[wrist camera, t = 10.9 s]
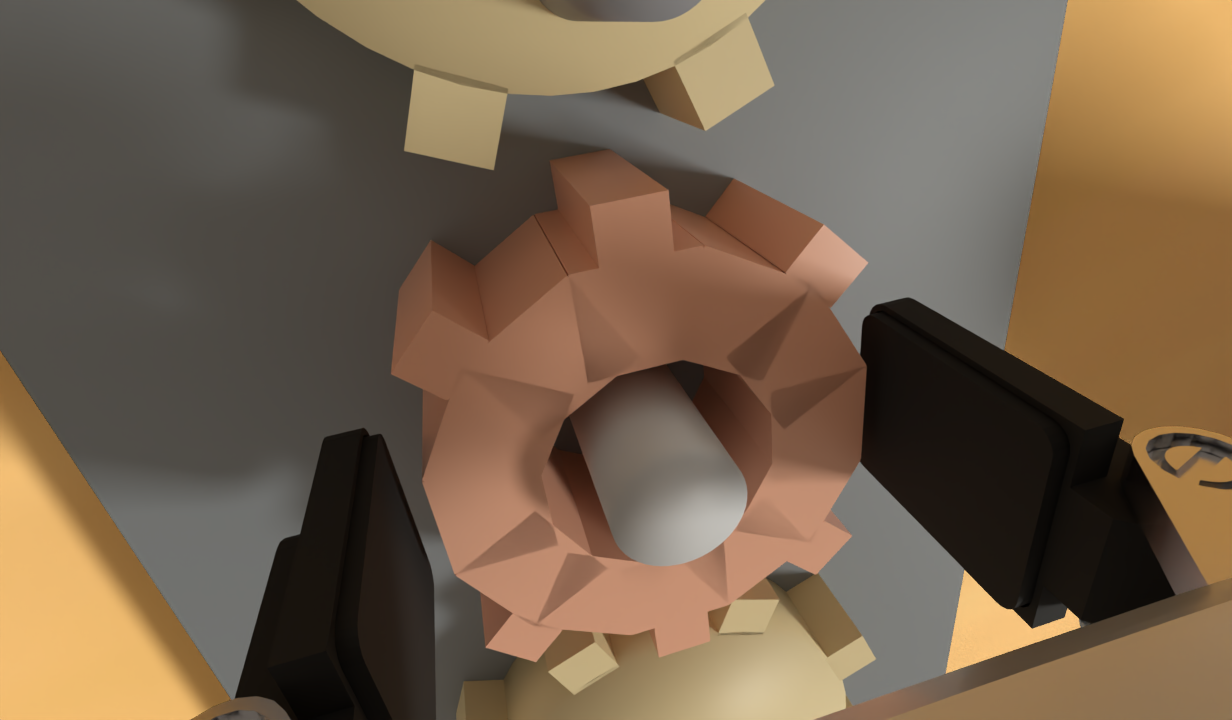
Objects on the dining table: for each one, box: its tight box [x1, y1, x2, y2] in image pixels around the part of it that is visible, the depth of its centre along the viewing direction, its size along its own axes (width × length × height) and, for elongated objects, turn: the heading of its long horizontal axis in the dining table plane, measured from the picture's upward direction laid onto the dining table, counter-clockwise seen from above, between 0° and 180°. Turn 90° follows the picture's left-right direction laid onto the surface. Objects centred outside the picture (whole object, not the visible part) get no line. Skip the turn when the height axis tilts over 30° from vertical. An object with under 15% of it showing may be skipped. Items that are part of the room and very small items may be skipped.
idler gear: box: [391, 149, 868, 662], centre depth 11 cm, size 8×7×3 cm
